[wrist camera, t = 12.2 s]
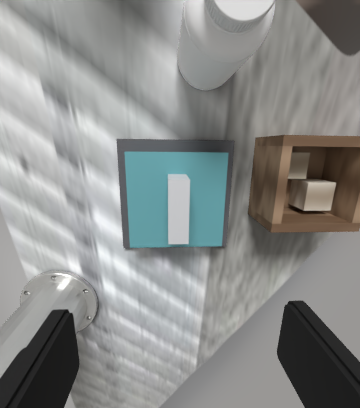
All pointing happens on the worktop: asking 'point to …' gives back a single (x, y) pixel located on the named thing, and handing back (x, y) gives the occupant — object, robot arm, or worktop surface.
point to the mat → (170, 146)
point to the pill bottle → (220, 38)
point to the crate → (306, 183)
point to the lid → (176, 198)
